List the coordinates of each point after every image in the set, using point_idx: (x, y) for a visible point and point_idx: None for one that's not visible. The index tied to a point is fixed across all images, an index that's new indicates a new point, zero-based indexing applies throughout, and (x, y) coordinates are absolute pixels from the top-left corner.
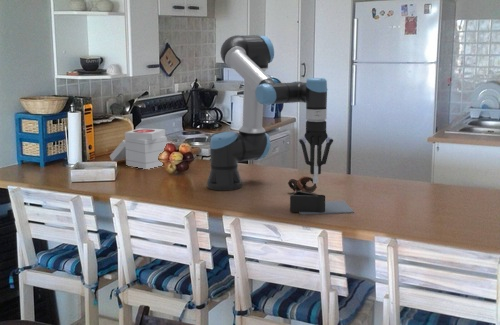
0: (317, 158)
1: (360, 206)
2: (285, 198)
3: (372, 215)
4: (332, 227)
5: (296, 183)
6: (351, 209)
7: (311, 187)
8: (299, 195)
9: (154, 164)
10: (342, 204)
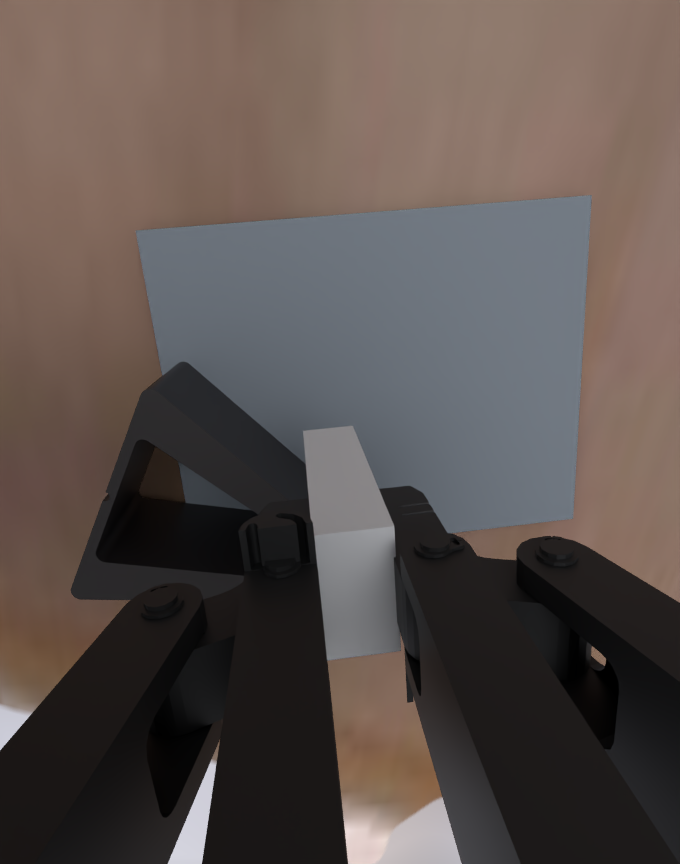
0: (433, 704)
1: (666, 343)
2: (39, 14)
3: (663, 561)
4: (377, 778)
5: None
6: (571, 466)
7: None
8: (162, 580)
9: None
10: (544, 323)
